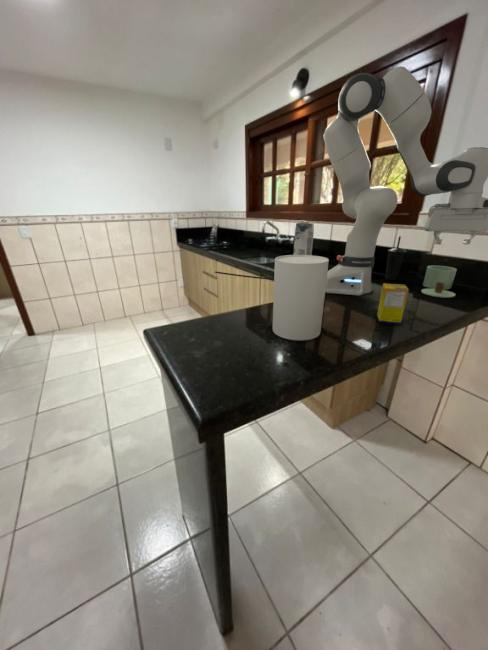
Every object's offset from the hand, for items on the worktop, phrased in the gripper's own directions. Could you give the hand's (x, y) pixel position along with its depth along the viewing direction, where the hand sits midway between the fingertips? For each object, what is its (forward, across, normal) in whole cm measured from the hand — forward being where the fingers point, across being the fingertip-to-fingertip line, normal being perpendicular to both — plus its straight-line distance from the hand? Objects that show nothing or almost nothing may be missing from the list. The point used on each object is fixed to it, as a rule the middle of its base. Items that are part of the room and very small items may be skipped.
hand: (451, 244), depth 97 cm
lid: (+19, 0, -1) cm, 19 cm away
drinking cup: (+20, -10, +25) cm, 33 cm away
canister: (+19, -56, -44) cm, 73 cm away
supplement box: (+19, -28, -32) cm, 47 cm away
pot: (+20, +4, +12) cm, 23 cm away
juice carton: (+19, -53, +36) cm, 67 cm away
